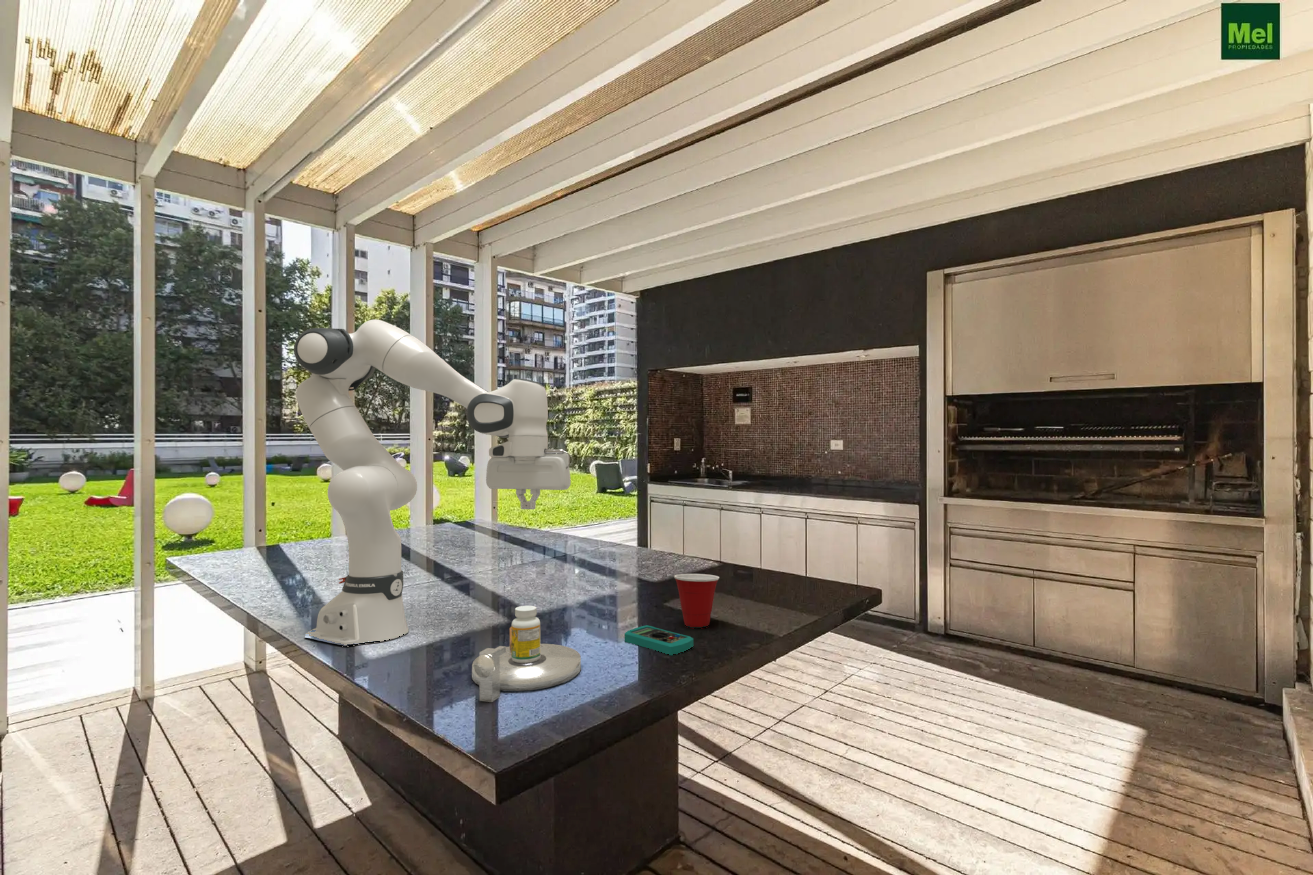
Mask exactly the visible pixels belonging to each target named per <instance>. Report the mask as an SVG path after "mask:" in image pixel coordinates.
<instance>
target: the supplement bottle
mask: <svg viewBox="0 0 1313 875" xmlns="http://www.w3.org/2000/svg"><path fill="white" fill-rule="evenodd" d="M537 608H538V607H537V606H534V605H520V606H517V607H515V609H514V615H515V617H516V618H513V620H512V621H511V627H512V660H513V661H514V662H516V663H531V662H535V661H537V660H539V658H540V656H541V650H540V644H541V621H540V619H539V617H537V614H538V609H537Z"/></svg>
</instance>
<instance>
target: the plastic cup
mask: <svg viewBox="0 0 1313 875" xmlns="http://www.w3.org/2000/svg"><path fill="white" fill-rule="evenodd" d="M673 577H674V579H675V581H676V585H677V586H676V587H677V589H678V596H679V602H680V608H681V612H682V616H683V617H682V618H683V623H684V626H685V625H686V626H690V627H703V626H708V625H710V622H711V616H712V615H711V614H712V612H713V604H714V599H715V598H714V597H715V592H716V587H717V583H718V581H719V579H720V576H718V575H713V574H705V573H681V574H675V575H673ZM686 626H685V627H686ZM708 627H709V626H708Z"/></svg>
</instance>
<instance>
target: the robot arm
mask: <svg viewBox="0 0 1313 875" xmlns="http://www.w3.org/2000/svg"><path fill="white" fill-rule="evenodd" d="M293 353H294V357H295V359H296V361H297V363H298V365H300V366H301V367H302V368H303V369H305V370H306V371H307V372H310V373H311V375H310V376H309V378H307V379H304V380H303V381H302V382H300V383H299V385H298V386H297V388H296V391H295V398H296V402H297V404H298V408H299V410H300V412H301V414H302V417H303V419H304V421H305V424H307V427H308V429H309V431H310V432H311V434H312V435H313V437H314V439H315V441H316V442H317V444H318V446H319V447H320V448H319V449H321V451H322V452H323V454H324V456H325V457H326V459H327V460H328V461H330V462H331V463H332V464H335V465H336V466H338V467H339V468H340V469H341V470H342V471H340V472H338V473H337V474H335V475H334V476H333V477H332V478H331V480H330V481H329V484H328V487H327V498H328V501H329V503H330V505H331V506H332V507H333V509H335V510H336V511H337V512H338V514H339V516H340V518H341V520H342V523H343V526H344V529H345V532H346V538H347V545H348V546H347V547H348V574H347V576H345V577H340V578H338V580H339V582H338V584H343V585H342V588H341V592H339V593H338V594H337V595H336V596H335V597H333V598H332V599H331V600H330V601H328V603H326V604H325V605H323V607H321V608H320V610H319V611H318V615H317V619H316V627H315V628H313V629H310V630H309V631H312V630H316V631H315V632H309V631H307V632H308V633H307V632H306V633H305V634H309V636H314V637H317V638H319V639H324V640H327V641H332V642H335V643H341V644H344V645H347V644H353V643H363V642H368V641H369V642H371V641H380V642H385V641H384V640H386V641H390V640H394V639H396V638H400V637H403V636H404V635H406V634H407V633H409V632H410V629H409V626H408V623H407V619H406V618H407V617H406V613H405V608H404V607H405V606H404V601H403V590H404V571H403V569H402V538H401V535H400V534H399V533H398V532H397V531H396V529H395V526H394V524H393V521H392V520H393V519H392V517H391V511H395V510H398V509H400V508H403V507H404V506H405V505H407V504H409V503H410V502H411V501H412V500H413V499H414V497H415V495H416V493H417V491H418V484H417V479H416V477H415V476H414V474H413V473H412V472H411V471H410V470H408V469H407V468H405V467H404V466H402V465H401V464H400V463H399V462H398V461H397V460H396V458H394V456H393V455H392V454H391V453H390V452H389V451H388V450H387V449H386V448H385V447H384V445H383V444H382V443H381V442H380V441H379V439H377V438H376V436H375V435H374V434H373V433H372V430H371V429H370V427H369V426H368V424H367V422H366V421H365V419H364V418H363V416H362V414H361V413H360V411H359V409H358V408H357V407H356V404H355V403H354V401H353V399H352V398H351V396H350V393H349V391H350V392H351V391H355V390H357V389H358V388H359V387H360V385H361V384H363V383H364V382H366V381H367V380H369V379H370V377H371V376H372V375H373V373H374V372H375V371H376V370H378V371H380V372H381V373H383V374H384V375H386V376H387V377H389V378H390V379H392V380H394V381H396V382H398V383H401V384H403V385H405V386H407V387H411V388H413V389H417V390H421V391H424V392H430V393H434V394H438V395H441V396H444V397H446V398H448V399H450V400H451V401H454V403H455V402H456V403H457V404H458V405H461V406H462V407H464V408H465V409H466V412H465V414H466V420H467V423H468V425H469V426H470V427H471V428H472V429H473V430H474V431H475V432H478V433H479V434H482V435H488V436H493V437H494V436H495V437H498V438H503V439H506V438H507V439H508V440H507V441H505V442H503V443H499V444H498V445H494V446H492V447H490V448H489V449H488V456H489V457H491V458H490V459H489V460H488V462H487V465H486V477H485V478H486V479H485V481H486V485H487V487H488V488H489V489H493V490H495V489H496V490H515V495H516V497H517V498H518V500H519V502H520V509H521V510H535V509H536V507H537V506H536V504H537V503H536V502H537V500H538V498H539V497H540V495H541V490H542V491H545V490H546V491H547V490H549V491H565V490H568V489H569V488H570V486H571V484H572V483H571V482H572V481H571V472H570V464H571V462H570V454H569V453H568V452H567V451H565V450H564V449H563V448H558V449H556V448H555V449H554V448H549V447H548V446H549V445H548V444H549V440H548V439H549V437H548V436H549V435H548V431H547V423H548V419H549V416H548V415H549V413H548V411H549V408H548V406H549V405H548V396H547V395H548V394H547V391H546V388H545V386H544V385H543V384H541V383H540V382H538V381H535V380H531V379H525V378H513V379H512V380H511V381H509V383H507V384H506V385H503V386H502V387H500V388H497V389H494V390H492V391H488V390H486V389H484V388H483V387H481V386H479V385H478V384H477V383H475V382H473V381H471V379H468V378H467V377H465V376H463V375H462V374H460V373H459V372H458V371H456V369H454V368H453V367H452V366H451V365H450V364H449V363H447V362H446V361H445V360H444V359H443V358H442V357H440V356H439V355H438V354H437V353H436V352H435V351H434V350H433V349H432V348H430V347H429V346H428V345H426V344H425V343H424V342H423V341H421V340H420V339H418V338H417V337H415V336H414V335H413V334H410V333H409V332H407V331H406V330H403V329H402V328H400V327H398V326H395V325H394V324H391V323H389V322H386V321H384V320H382V319H370V320H367V321H365V322H364V323H362V324H361V325H360V326H358V328H357V329H356V331H355V332H352V333H349V332H348V331H347V330H346V329H344V328H330V327H313V328H308V329H306V330H304V331H303V332H301V333H300V334H299V335H298V337H297V338H296V340H295V342H294V345H293ZM527 490H530V495H531V497H530V499H529V500H527V498H526V496H525V494H527ZM310 634H311V635H310ZM403 634H404V635H403ZM399 636H400V637H399ZM389 639H390V640H389Z"/></svg>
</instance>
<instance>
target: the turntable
mask: <svg viewBox="0 0 1313 875" xmlns="http://www.w3.org/2000/svg"><path fill="white" fill-rule="evenodd" d="M540 650H541V656H540V658H539V660H537V661H535V662H531V663H516V662H514V661H513V660H512V626H510V627H509V646H506V652H505V653H504V654H502V655H500V691H503V692H507V691H508V692H524V691H533V690H535V691H536V690H540V689H545V688H551V687H554V686H557V685H561V684H564V683H566V682H568V681H570V680H571V679H573V678H575V677H576V676H578V674H580V671H581V668H582V661H581V660H582V658H581V654H580V652H579V651H578V650H576V649H574V648H572V647H570V646H566V645H560V644H553V643H552V644H551V643H540ZM471 679H472V680H473V682H474V683H475V684H477V685H478V686H480V676H478V675H477V674H476V672H475V670H474V661H472V664H471Z"/></svg>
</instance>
